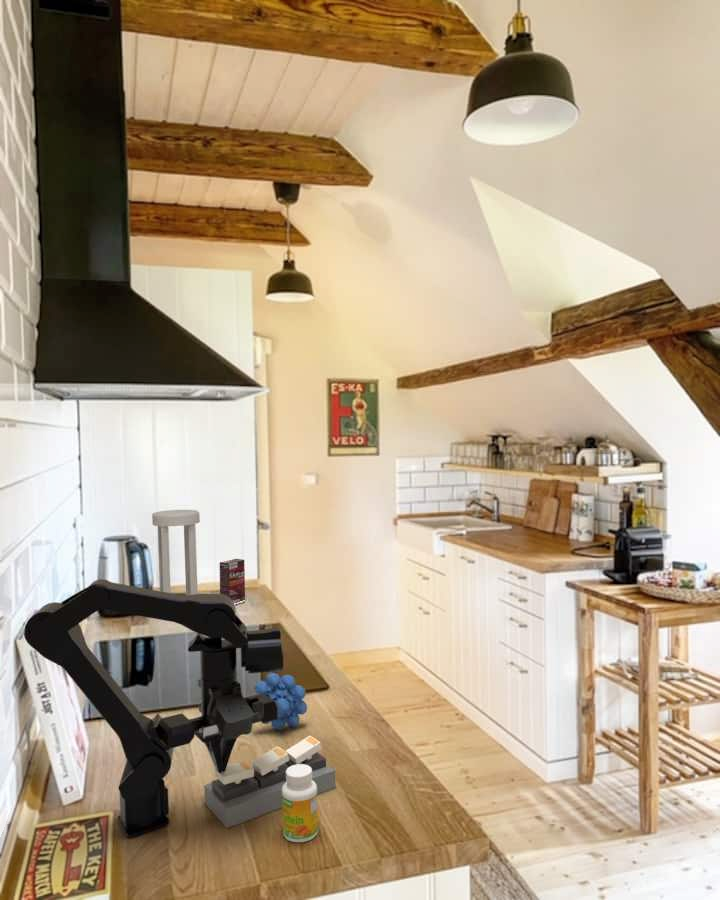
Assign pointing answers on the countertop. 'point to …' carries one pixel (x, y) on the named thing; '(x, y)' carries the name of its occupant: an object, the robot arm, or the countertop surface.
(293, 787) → the supplement bottle
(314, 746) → the far rocker
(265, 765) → the middle rocker
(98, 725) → the countertop surface
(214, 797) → the rocker switch strip
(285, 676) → the grapes
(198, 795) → the countertop surface
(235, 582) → the supplement box
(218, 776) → the block
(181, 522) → the stool
